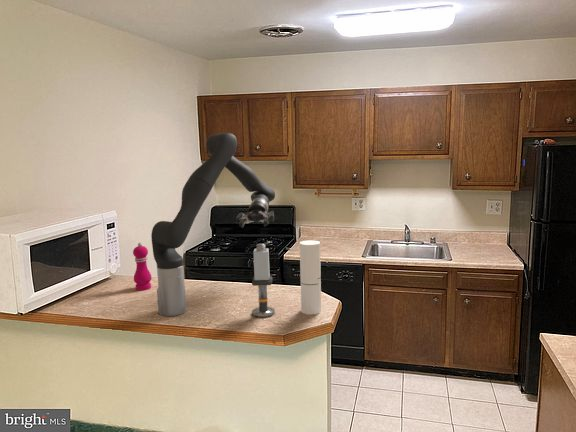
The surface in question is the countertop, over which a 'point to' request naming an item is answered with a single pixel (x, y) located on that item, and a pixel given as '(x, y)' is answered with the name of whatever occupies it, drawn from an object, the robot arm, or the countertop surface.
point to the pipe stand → (262, 297)
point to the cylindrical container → (310, 277)
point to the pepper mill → (141, 268)
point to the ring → (262, 282)
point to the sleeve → (261, 264)
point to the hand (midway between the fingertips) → (253, 224)
